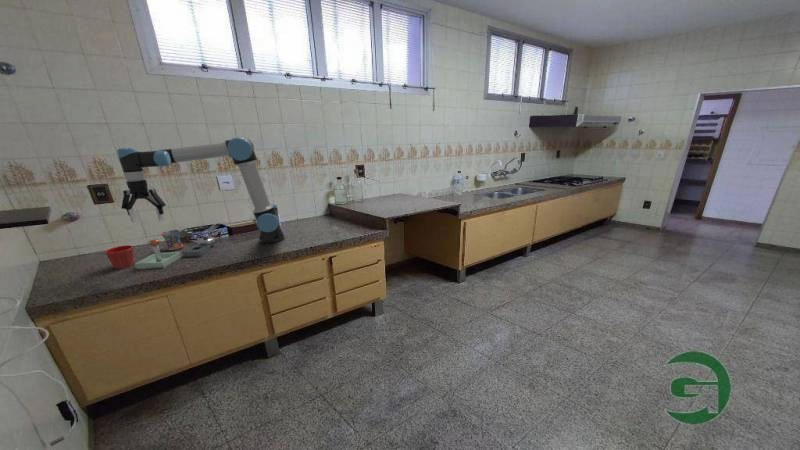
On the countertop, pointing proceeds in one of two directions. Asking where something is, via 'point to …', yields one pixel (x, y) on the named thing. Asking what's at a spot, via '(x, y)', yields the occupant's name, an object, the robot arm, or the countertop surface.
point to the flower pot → (121, 256)
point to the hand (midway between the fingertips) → (148, 221)
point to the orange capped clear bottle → (156, 249)
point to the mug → (172, 239)
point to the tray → (151, 262)
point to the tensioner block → (199, 247)
